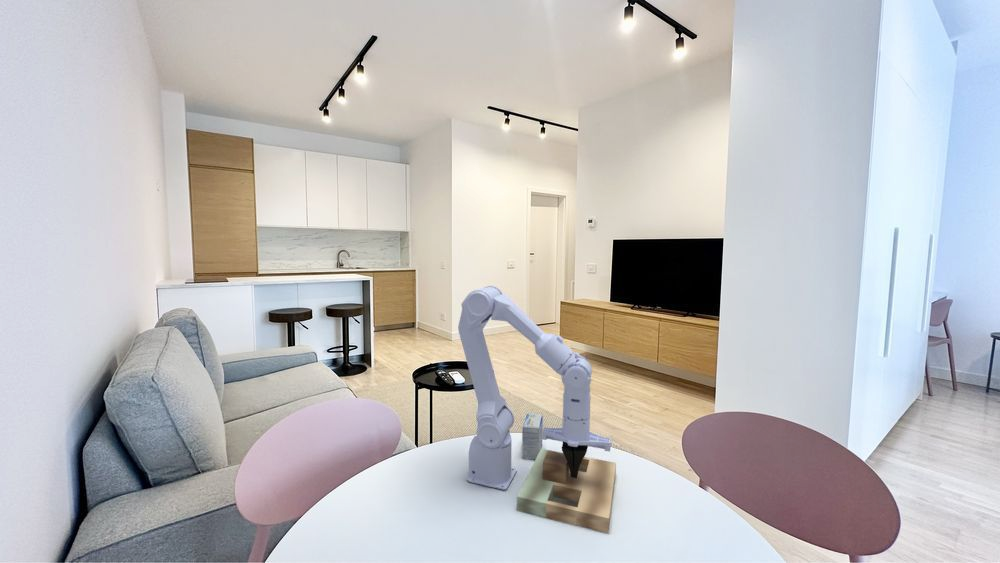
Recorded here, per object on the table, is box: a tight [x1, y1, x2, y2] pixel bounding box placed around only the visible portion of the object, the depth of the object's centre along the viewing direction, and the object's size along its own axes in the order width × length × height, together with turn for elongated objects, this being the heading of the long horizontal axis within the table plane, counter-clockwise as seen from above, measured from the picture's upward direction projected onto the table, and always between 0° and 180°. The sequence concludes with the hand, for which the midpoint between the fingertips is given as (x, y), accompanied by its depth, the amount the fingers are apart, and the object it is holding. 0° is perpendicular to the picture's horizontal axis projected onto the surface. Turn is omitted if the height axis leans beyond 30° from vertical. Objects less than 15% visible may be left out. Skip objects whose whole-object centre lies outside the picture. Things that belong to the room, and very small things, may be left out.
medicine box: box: [521, 413, 544, 461], centre depth 101 cm, size 8×4×9 cm, turn 168°
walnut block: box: [543, 450, 570, 484], centre depth 86 cm, size 5×5×4 cm
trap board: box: [516, 448, 617, 534], centre depth 85 cm, size 18×20×3 cm
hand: (574, 475), depth 85 cm, fingers closed
